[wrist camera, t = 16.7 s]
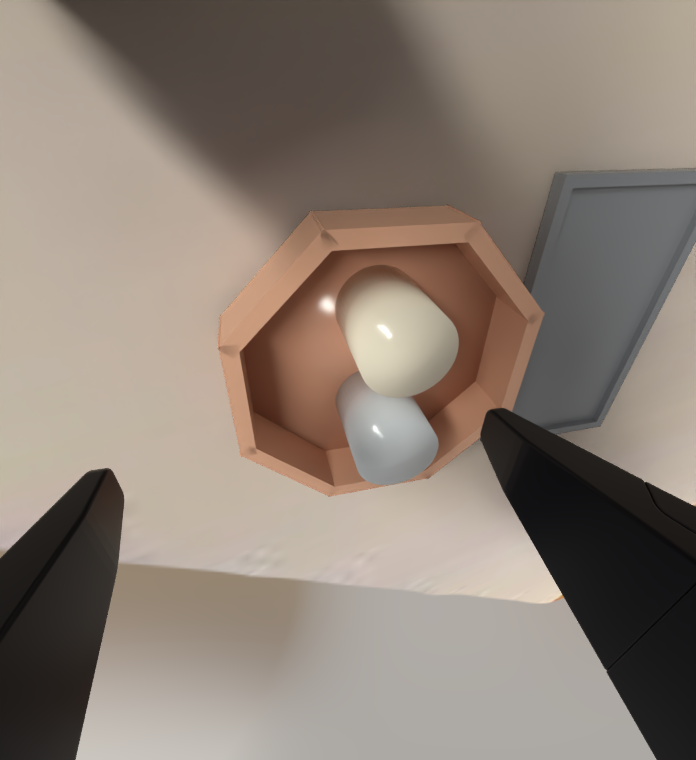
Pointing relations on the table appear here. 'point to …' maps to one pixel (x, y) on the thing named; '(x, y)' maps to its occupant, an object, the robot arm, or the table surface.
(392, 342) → the cream rounded cylinder
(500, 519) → the table surface
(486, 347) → the terracotta bowl
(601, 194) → the parts tray
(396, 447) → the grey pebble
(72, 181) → the table surface
